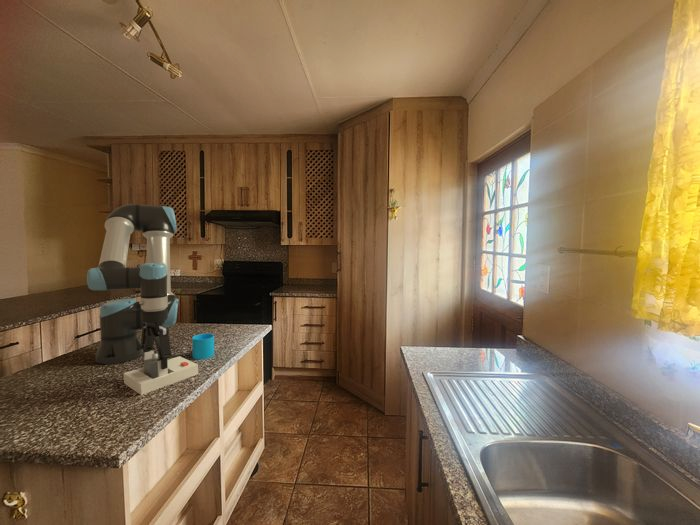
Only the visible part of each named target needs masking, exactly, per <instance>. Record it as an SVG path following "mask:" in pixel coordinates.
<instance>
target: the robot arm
mask: <svg viewBox="0 0 700 525" xmlns="http://www.w3.org/2000/svg"><path fill="white" fill-rule="evenodd" d="M104 229H105V231H106V232H105V235H104V241H103V245H102V247H101V248H102V249H101V254H100V258H99V263H98V267H91V268H89V269H88V270H87V273H86V283H87V287H88V288H89V289H90V290H91V291H112V290H126V289H127V290H128V289H133V290H134V289H139V290H140V301H137V299H136V298H135V297H129V298H121V299H115V300H112V301H107V302H105V303H103V304H102V305H101V306H100V309H99V316H98V318H99V325H100V343H99V345H98V348H97V351H96V354H95V362H96V363H97V364H100V365H111V364H113V365H114V364H120V363H125V362H128V361H132V360H135V359H137V358H139V357H141V356H142V355H144V356H143V359H144V360H147V359H151V358H152V354H155V351H154V350H155V347H154V344H155V346H156V351H157V352H156V353H158V356H159V359H157V361H158V377H160V376H163V375H166V374H168V360H169V359H171V358H172V349H171V342H170V336H169V335H170V334H169V333H170V332H169V331H170V330H169V327H172V326H174V325H175V324H176V323H177V319H178V318H177V316H178V308H179V307H178V306H179V300H180V299H179V298H176V294H175V293H173V292H172V288H171V287H172V286H171V280H172V279H171V244H170V243H171V241H170V240H171V238H173V237H174V234H175V233H177V232H178V227H177V220H176V215H175V210H174V209H173V208H172V207H171V206H165V205H152V204H151V205H150V204H137V203H128V204H125V205H121V206H119V207H117V208H115V209H114V210H113V211H111V212H110V213H109V214H108V215H107V217H106V218H105V221H104ZM133 232H142V236H143V237H144V238H145V239H146V263H141V264H140V266H133V267H132V266H130V267H129V266H128V267H127V262H128V261H127V260H128V254H129V247H130V238H131V235H132V234H133ZM138 330H141V340H140V338H139V336H138ZM144 360H143V361H144Z"/></svg>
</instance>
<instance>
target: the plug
mask: <svg viewBox="0 0 700 525" xmlns="http://www.w3.org/2000/svg"><path fill="white" fill-rule="evenodd" d="M157 359H159V356H158V352H154V354H152V358H151V359H147V360H143V367H144V374H145V375H147V376H149V377H150V378H152V379H154V378H157V377H158V361H157Z"/></svg>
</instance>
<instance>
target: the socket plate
mask: <svg viewBox="0 0 700 525" xmlns="http://www.w3.org/2000/svg"><path fill="white" fill-rule="evenodd" d="M197 375H199V364H198V363H195V362H193V361H191V360H189V359H187V358H184V357H182V356H180V355H179V356H176V357H173V358H172V357H171V358H168V374H166V375H163V376H160V377H157V378H154V379H152V378H150V377H149V376H147V375H145V374H144V366H143V367H140V368H139V367H138V368H137V369H133V370H130V371H127V372H124V373H123V384H124V385H126V386H127V387H129V388H130V389H132V390H133V391H135V393H137V394H139V395H140V396H144V395H146V394H148V393H152V392H154V391H156V389H157V390H159V388H160V389H162V388H164V386H165V387H168V386H170V385H172V384H175V383H179V382H181V381H184V380H186V379H190V378H192V377H194V376H197ZM167 385H168V386H167ZM151 391H152V392H151ZM143 394H144V395H143Z"/></svg>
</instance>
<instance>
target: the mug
mask: <svg viewBox="0 0 700 525" xmlns="http://www.w3.org/2000/svg"><path fill="white" fill-rule="evenodd" d="M191 340H192V342H191V343H192V359H194V360H206V359H207V360H208V359H210V358H212V357H214V356H215V335H214V333H200V334H196V335H193V336H192V338H191Z"/></svg>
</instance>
